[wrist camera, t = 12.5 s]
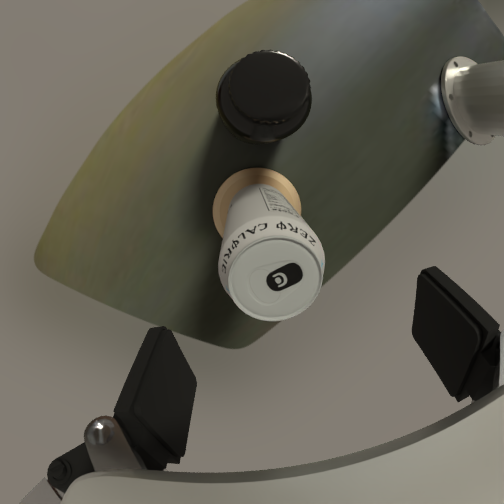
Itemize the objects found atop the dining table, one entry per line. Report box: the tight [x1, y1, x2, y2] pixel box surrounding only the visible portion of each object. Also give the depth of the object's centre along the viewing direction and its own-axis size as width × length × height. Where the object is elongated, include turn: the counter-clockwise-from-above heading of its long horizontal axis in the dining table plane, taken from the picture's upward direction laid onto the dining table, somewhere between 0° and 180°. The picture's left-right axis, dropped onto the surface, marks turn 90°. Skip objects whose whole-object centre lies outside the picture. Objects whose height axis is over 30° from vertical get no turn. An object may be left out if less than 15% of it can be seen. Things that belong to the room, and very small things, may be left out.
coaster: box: [213, 168, 301, 238], centre depth 28 cm, size 9×9×1 cm
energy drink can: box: [218, 184, 325, 321], centre depth 21 cm, size 6×6×15 cm
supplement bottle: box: [216, 50, 312, 144], centre depth 19 cm, size 7×7×12 cm
